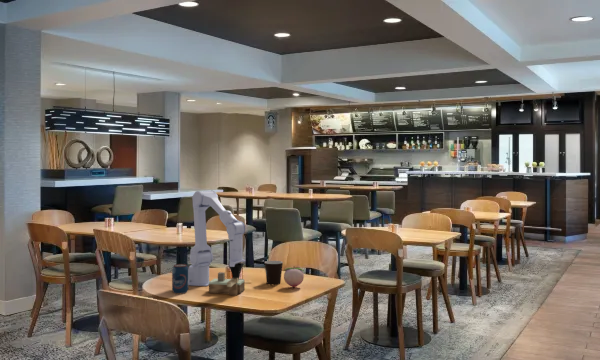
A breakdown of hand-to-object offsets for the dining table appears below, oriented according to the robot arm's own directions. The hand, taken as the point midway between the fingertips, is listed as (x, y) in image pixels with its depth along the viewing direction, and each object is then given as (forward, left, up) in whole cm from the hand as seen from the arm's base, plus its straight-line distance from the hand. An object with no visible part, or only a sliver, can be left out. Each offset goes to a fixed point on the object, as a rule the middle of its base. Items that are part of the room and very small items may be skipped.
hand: (236, 280), depth 253 cm
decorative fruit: (+23, +14, -6) cm, 28 cm away
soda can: (-25, -3, -6) cm, 25 cm away
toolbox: (-5, +1, -5) cm, 7 cm away
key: (0, -6, 0) cm, 6 cm away
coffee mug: (+12, +23, -6) cm, 27 cm away
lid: (-4, +1, -2) cm, 5 cm away
